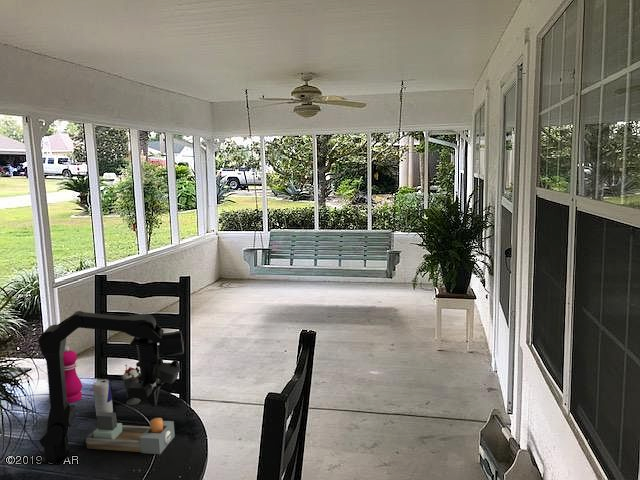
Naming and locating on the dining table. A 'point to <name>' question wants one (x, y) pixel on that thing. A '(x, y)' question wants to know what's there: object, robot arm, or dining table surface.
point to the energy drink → (102, 396)
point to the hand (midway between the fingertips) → (154, 406)
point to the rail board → (119, 440)
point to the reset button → (156, 425)
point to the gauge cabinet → (157, 439)
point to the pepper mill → (71, 376)
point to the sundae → (131, 382)
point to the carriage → (107, 426)
